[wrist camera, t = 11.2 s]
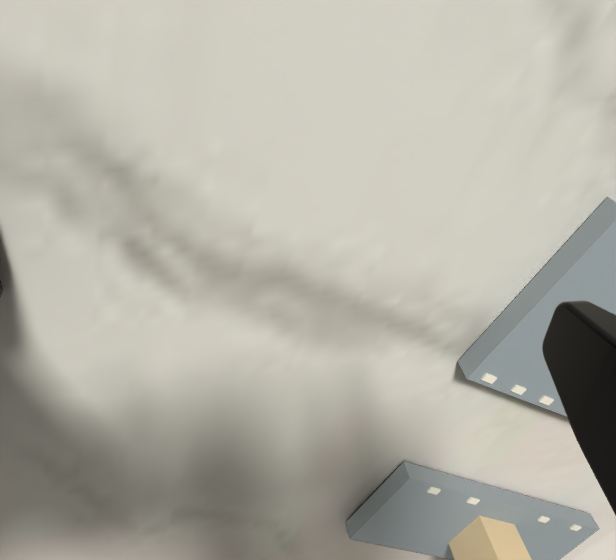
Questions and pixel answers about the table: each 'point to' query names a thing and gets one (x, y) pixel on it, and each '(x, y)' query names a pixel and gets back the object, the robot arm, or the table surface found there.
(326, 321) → the table surface
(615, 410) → the robot arm
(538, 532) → the grey slab with post
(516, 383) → the board
